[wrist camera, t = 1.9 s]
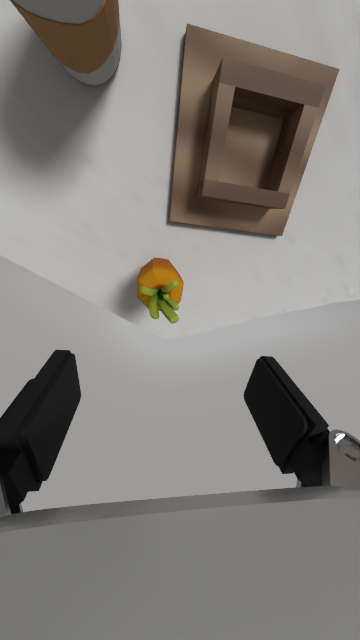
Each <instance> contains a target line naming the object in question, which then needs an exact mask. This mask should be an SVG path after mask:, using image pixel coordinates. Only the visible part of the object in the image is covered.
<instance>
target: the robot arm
mask: <svg viewBox="0 0 360 640" xmlns="http://www.w3.org/2000/svg"><path fill="white" fill-rule="evenodd" d="M80 398H81V391H80V385H79V378H78V372H77V366H76V360H75V355H74V354H71V352H70V351H69V350H55V351H54V352H53V354H52V355H51V356H50V358H49V359H48V361H47V362H46V363H45V365H44V366H43V367H42V369H41V370H40V371H39V373H38V374H37V376H36V377H35V378H34V379H31V380H29V381H28V382H27V384H26V385H25V386H24V388H23V389H22V390H21V391H20V393H19V394H18V395H17V397H16V398H15V399H14V401H13V402H12V403H11V405H10V406H9V407H8V409H7V410H6V411H5V413H4V414H3V415H2V417H1V418H0V640H360V441H359V440H358V439H357V438H355V437H354V436H352V435H350V434H349V433H346V432H344V431H341V430H332V431H331V432H330V431H329V430H328V429H327V427H328V426H329V425H328V424H327V422H326V421H325V420H324V419H323V417H322V416H321V415H320V414H319V413H318V412H317V410H316V409H315V408H314V406H313V405H312V404H311V403H310V402H309V400H308V399H307V398H306V397H305V395H304V394H303V393H302V392H301V391H300V389H299V388H298V387H297V386H296V384H295V383H294V382H293V381H292V379H291V378H290V377H289V376H288V375H287V373H286V372H285V371H284V370H283V368H282V367H281V366H280V365H279V363H278V362H277V361H276V360H275V359H274V358H273V357H267V356H262V357H260V358H259V359H257V361H256V364H255V366H254V369H253V371H252V374H251V376H250V379H249V382H248V384H247V387H246V390H245V392H244V400H245V402H246V404H247V406H248V408H249V410H250V412H251V414H252V416H253V419H254V421H255V423H256V425H257V427H258V429H259V431H260V433H261V436H262V438H263V440H264V442H265V444H266V446H267V448H268V450H269V452H270V455H271V457H272V459H273V461H274V463H275V464H276V465H277V466H279V468H280V470H281V472H282V474H287V473H295V475H296V476H297V486H296V488H284V489H272V490H259V491H245V492H232V493H219V494H207V495H195V496H183V497H170V498H158V499H147V500H135V501H124V502H113V503H101V504H90V505H81V506H71V507H62V508H52V509H43V510H35V511H29V512H23V510H22V506H21V502H22V501H24V499H25V497H26V494H27V492H29V491H39V489H40V486H41V484H42V481H46V480H47V479H48V477H49V475H50V473H51V471H52V468H53V466H54V463H55V461H56V458H57V456H58V453H59V451H60V448H61V446H62V443H63V441H64V439H65V436H66V434H67V431H68V429H69V426H70V424H71V421H72V419H73V416H74V414H75V411H76V409H77V406H78V404H79V401H80Z"/></svg>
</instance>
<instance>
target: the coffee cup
mask: <svg viewBox="0 0 360 640" xmlns="http://www.w3.org/2000/svg"><path fill="white" fill-rule="evenodd" d="M10 1H11V2H12V3H13V5H14V6H15V7H16V8H17V10H18V11H19V12H20V14H21V15H22V16H23V17H24V19H25V20H26V21H27V22H28V24H29V25H30V26H31V28H32V29H33V30H34V31H35V33H36V34H37V35H38V36H39V38H40V39H41V40H42V42H43V43H44V44H45V45H46V47H47V48H48V49H49V50H50V52H51V53H52V54H53V55H54V56H55V57H56V58H57V59H58V60H59V62H60V63H61V64H62V66H63V67H64V68H65V69H66V71H67V72H68V73H69V74H71V75H72V76H73V77H74V78H75V79H77V80H78V81H81V82H83V83H85V84H89V85H99V84H102V83H105V82H106V81H107V80H109V79H110V78H111V77H112V75H113V74H114V72H115V71H116V69H117V66H118V63H119V60H120V55H121V46H122V45H121V30H120V21H119V4H118V0H10Z"/></svg>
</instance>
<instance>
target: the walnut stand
mask: <svg viewBox="0 0 360 640" xmlns="http://www.w3.org/2000/svg"><path fill="white" fill-rule="evenodd" d="M338 72H339V69H337V68H334V67H330V66H327V65H324V64H320V63H317V62H314V61H310V60H307V59H304V58H300V57H297V56H294V55H290V54H287V53H284V52H280V51H277V50H274V49H270V48H267V47H264V46H260V45H257V44H254V43H250V42H247V41H244V40H240V39H237V38H234V37H230V36H227V35H224V34H220V33H217V32H213V31H210V30H207V29H203V28H200V27H197V26H193V25H190V24H187V27H186V34H185V45H184V57H183V68H182V80H181V91H180V102H179V114H178V125H177V137H176V148H175V160H174V171H173V183H172V194H171V205H170V217H169V221H173V222H181V223H188V224H196V225H203V226H210V227H218V228H225V229H233V230H240V231H248V232H255V233H263V234H270V235H278V236H282V234H283V231H284V228H285V226H286V223H287V220H288V217H289V214H290V211H291V208H292V205H293V202H294V199H295V197H296V194H297V191H298V188H299V185H300V182H301V179H302V176H303V173H304V170H305V167H306V165H307V162H308V159H309V156H310V153H311V150H312V147H313V144H314V141H315V138H316V136H317V133H318V130H319V127H320V124H321V121H322V118H323V115H324V112H325V109H326V107H327V104H328V101H329V98H330V95H331V92H332V89H333V86H334V83H335V80H336V78H337V75H338Z"/></svg>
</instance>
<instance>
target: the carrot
mask: <svg viewBox="0 0 360 640" xmlns="http://www.w3.org/2000/svg"><path fill="white" fill-rule="evenodd" d="M183 284H184V283H183V280H182V278H181V277H180V275H179V273H178V272H177V270H176V269H175V268H174V267H173V265H172V264H171V263H170V261H169V260H167V259H160V258H153V259H152V260H151V261H150V262H149V263H147V264H146V265H145V266H144V267H142V268H141V271H140V273H139V276H138V289H137V297H138V298H139V299H140V300H141V301H142V302H143V303H144V304H145V306H146V307H147V308H148V309H149V310H150V315H151V317H152V318H153V319H158V318H159V313H158V311H162V313H163V314H164V315H165V317H166V318H167V319H168V320H169V321H170V322H171V324H172V323H176V322H177V321H178V320H179V317H178V315H177V314H176V313H175V312H174V311H173V310H178V309H179V305H178V303H179V302H180V301H181V296H182V290H183ZM171 308H172V309H173V310H172V309H171Z"/></svg>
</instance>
